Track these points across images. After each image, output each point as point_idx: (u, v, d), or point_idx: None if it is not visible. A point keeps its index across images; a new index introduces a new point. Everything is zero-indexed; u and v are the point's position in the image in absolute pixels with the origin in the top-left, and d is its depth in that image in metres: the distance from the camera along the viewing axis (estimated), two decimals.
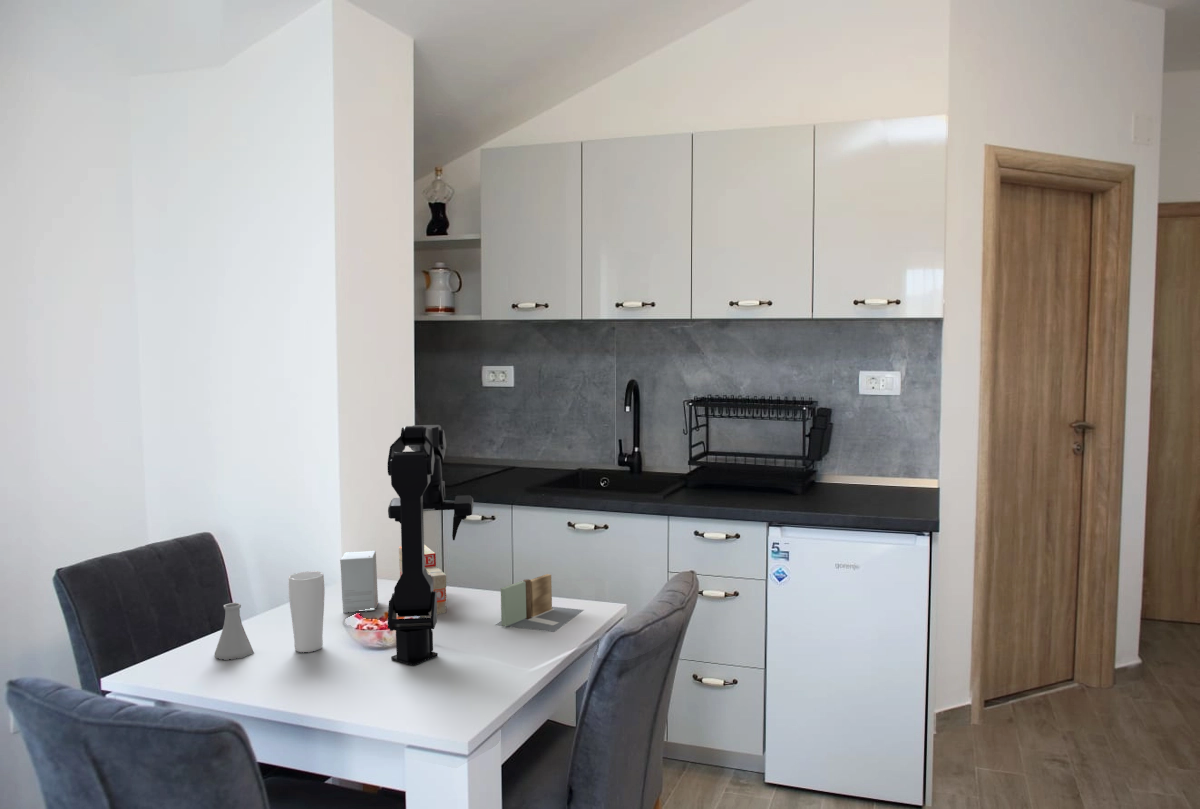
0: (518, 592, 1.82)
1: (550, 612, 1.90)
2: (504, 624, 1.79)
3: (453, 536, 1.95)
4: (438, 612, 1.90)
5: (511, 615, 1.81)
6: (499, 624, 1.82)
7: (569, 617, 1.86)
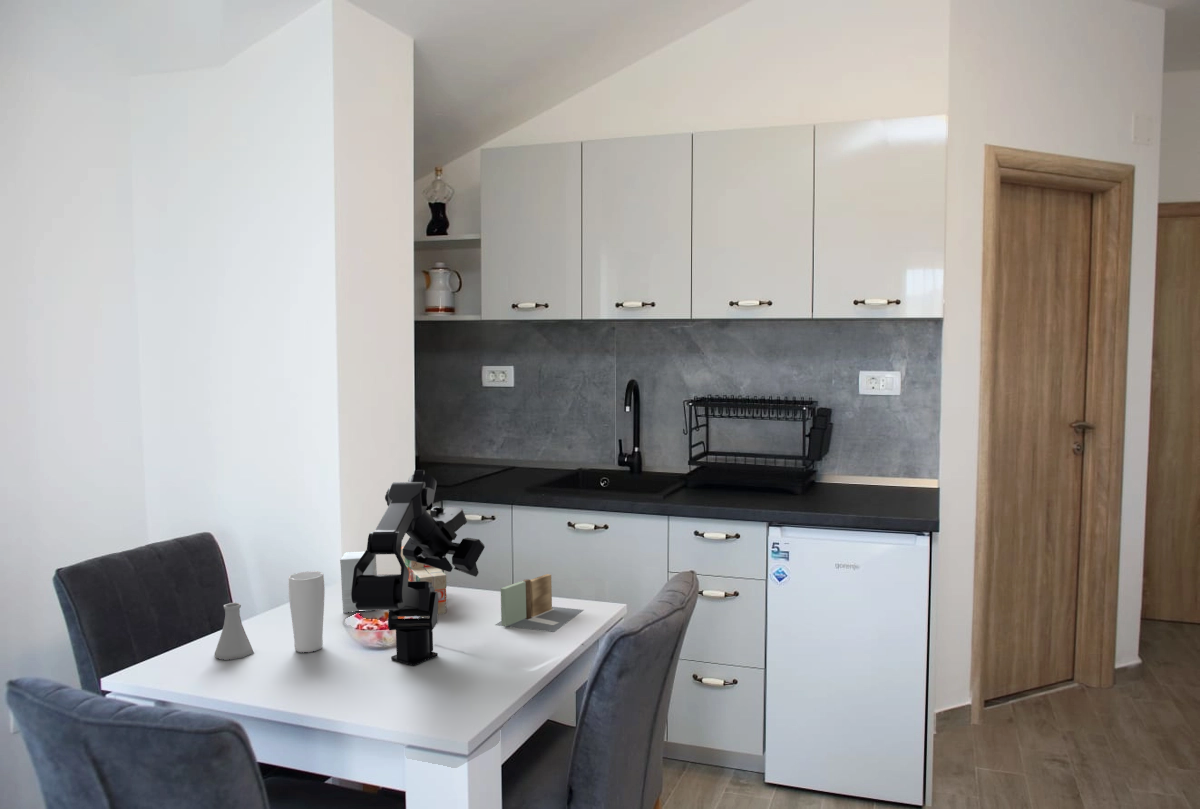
0: (518, 592, 1.82)
1: (550, 612, 1.90)
2: (504, 624, 1.79)
3: None
4: (438, 612, 1.90)
5: (511, 615, 1.81)
6: (499, 624, 1.82)
7: (569, 617, 1.86)
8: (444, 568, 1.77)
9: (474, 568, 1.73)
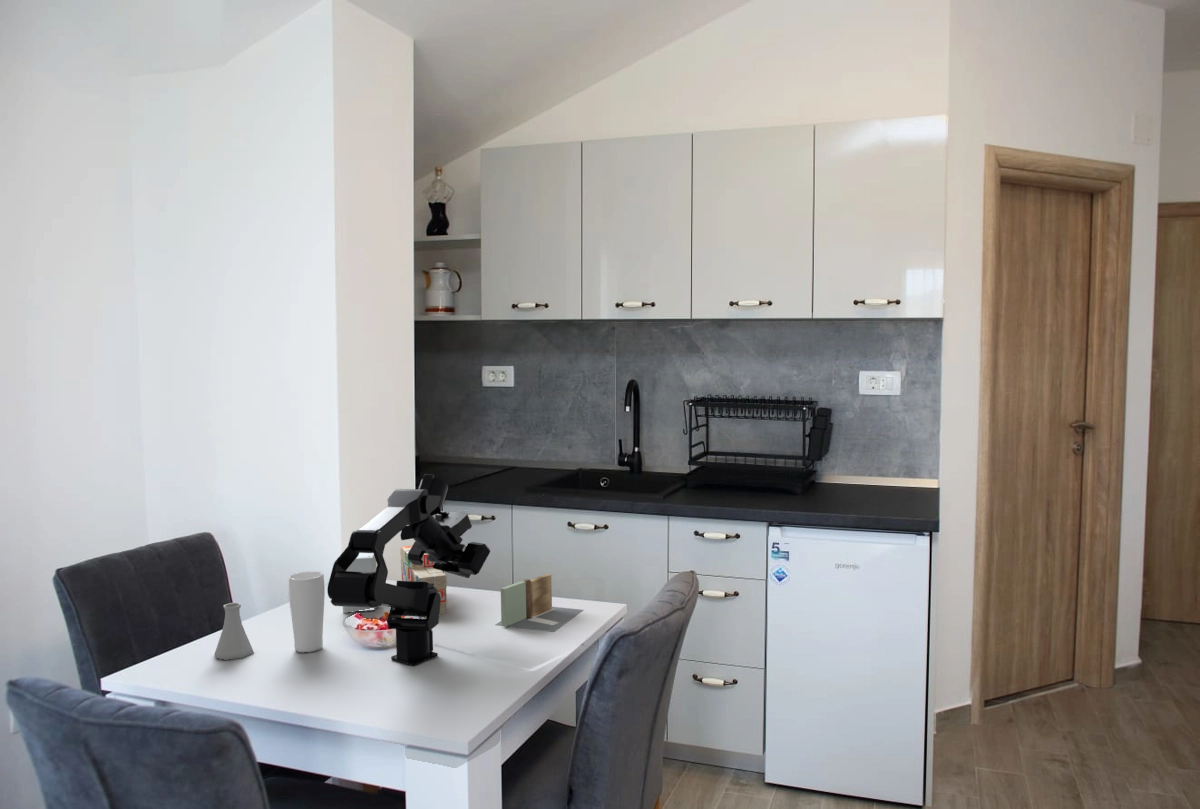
0: (518, 592, 1.82)
1: (550, 612, 1.90)
2: (504, 624, 1.79)
3: (464, 576, 1.77)
4: None
5: (511, 615, 1.81)
6: (499, 624, 1.82)
7: (569, 617, 1.86)
8: None
9: None
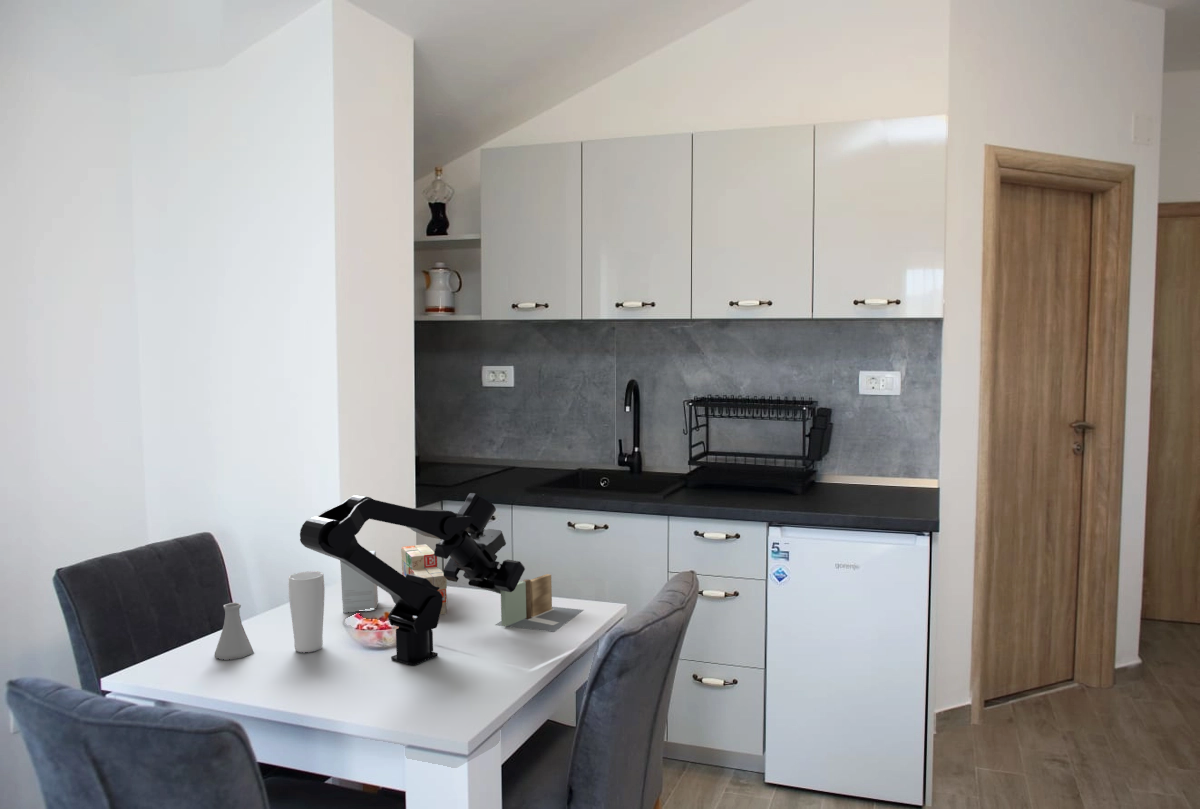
0: (518, 592, 1.82)
1: (550, 612, 1.90)
2: (504, 624, 1.79)
3: (497, 592, 1.81)
4: None
5: (511, 615, 1.81)
6: (499, 624, 1.82)
7: (569, 617, 1.86)
8: None
9: None
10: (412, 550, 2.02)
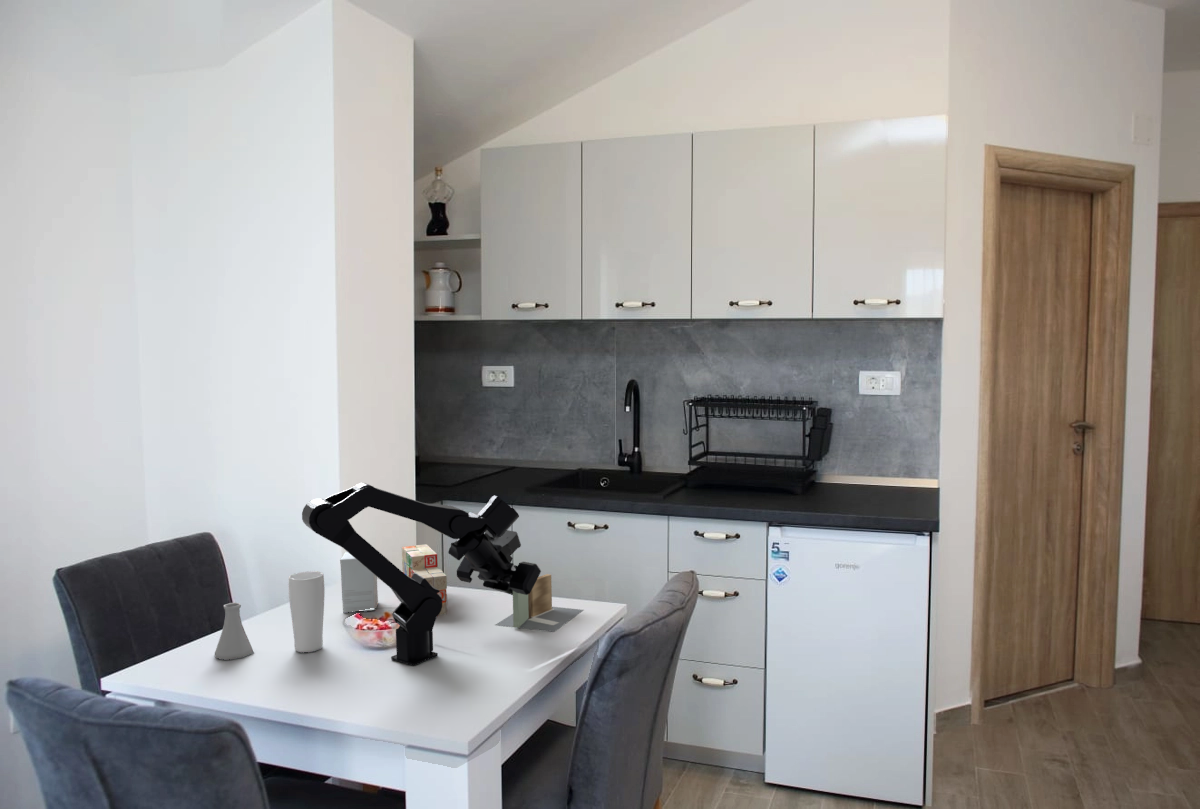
0: None
1: (550, 612, 1.90)
2: (517, 625, 1.78)
3: None
4: None
5: (521, 616, 1.80)
6: (499, 624, 1.82)
7: (569, 617, 1.86)
8: None
9: None
10: (412, 550, 2.02)
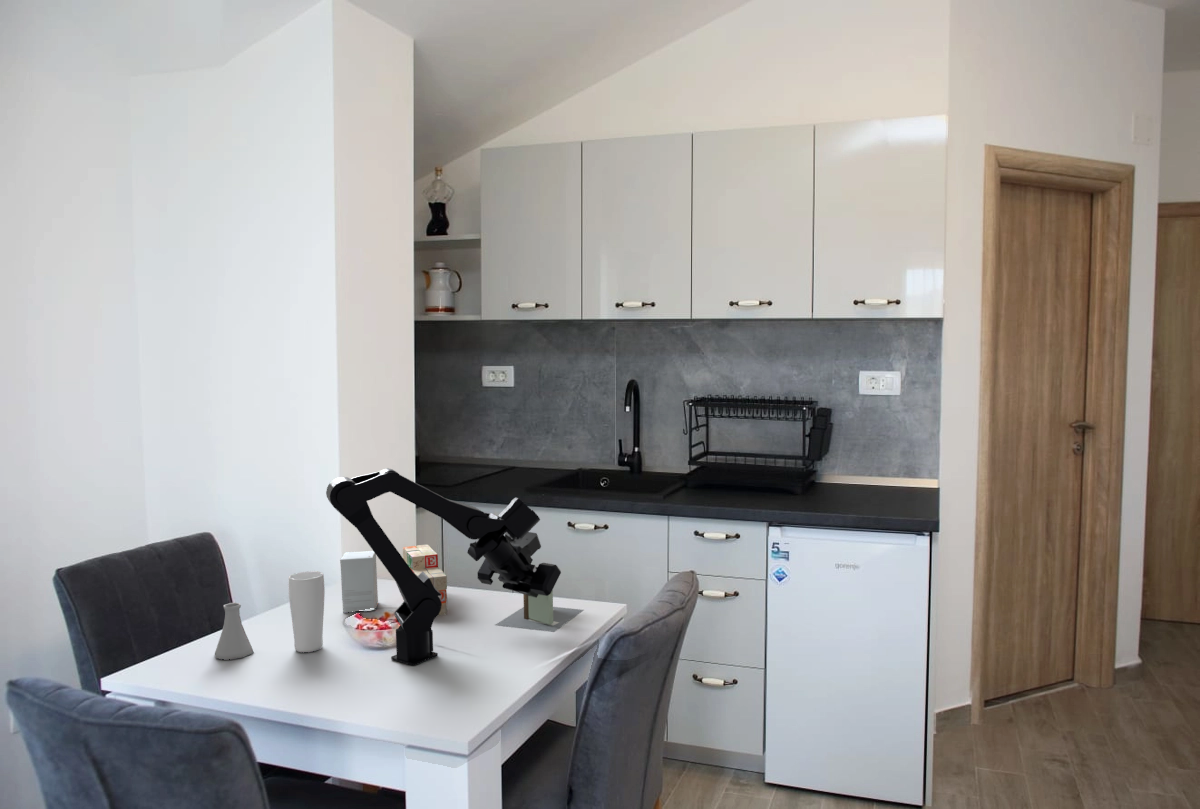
0: None
1: None
2: (552, 621, 1.81)
3: (532, 596, 1.79)
4: None
5: None
6: (499, 624, 1.82)
7: (569, 617, 1.86)
8: None
9: None
10: (413, 550, 2.02)
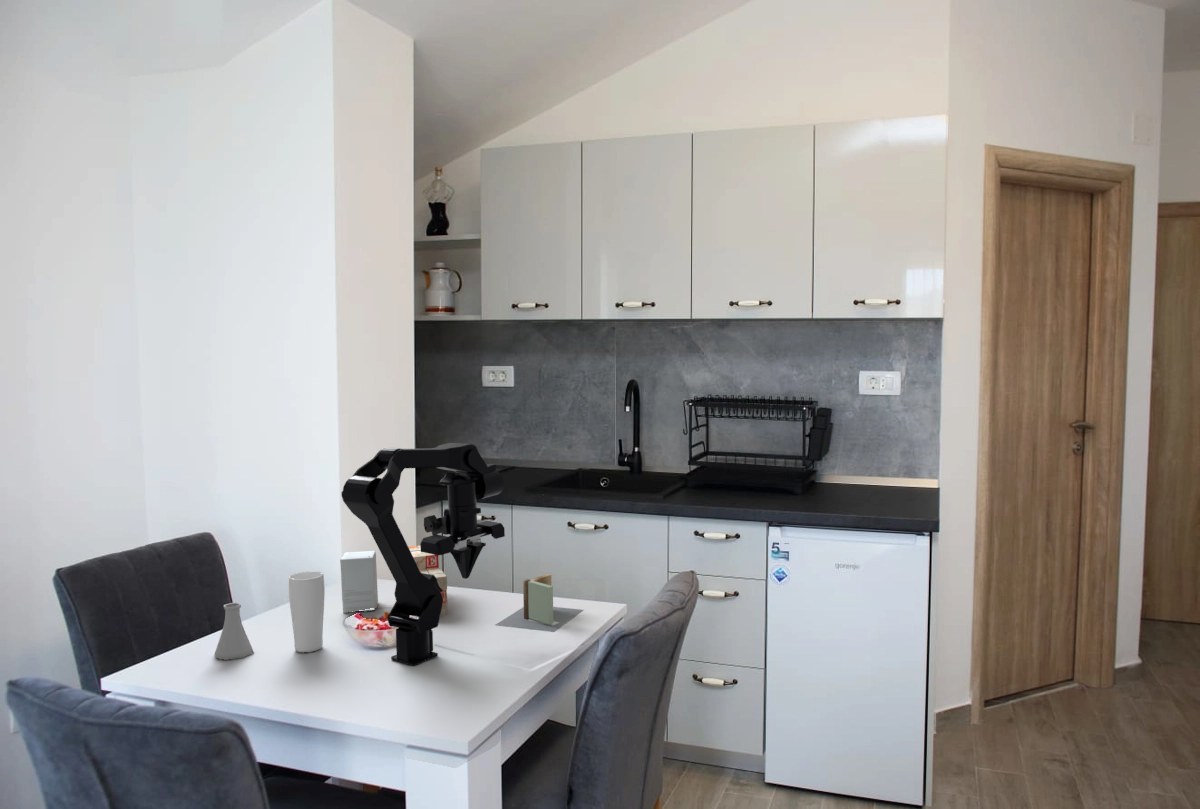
0: None
1: None
2: (552, 621, 1.81)
3: (469, 572, 1.75)
4: None
5: None
6: (499, 624, 1.82)
7: (569, 617, 1.86)
8: None
9: None
10: (414, 550, 2.01)
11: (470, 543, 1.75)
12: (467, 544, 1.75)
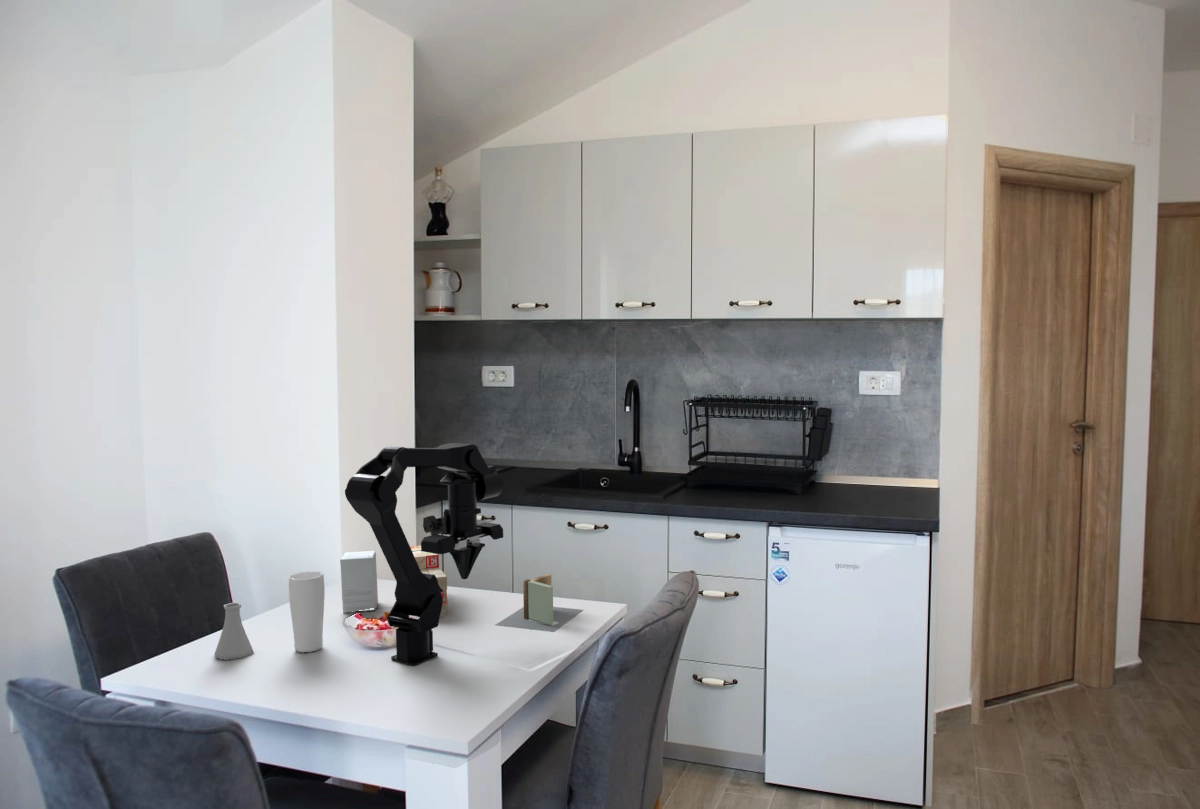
0: None
1: None
2: (552, 621, 1.81)
3: (468, 572, 1.75)
4: None
5: None
6: (499, 624, 1.82)
7: (569, 617, 1.86)
8: None
9: None
10: (414, 551, 2.01)
11: (469, 543, 1.75)
12: (466, 544, 1.75)
